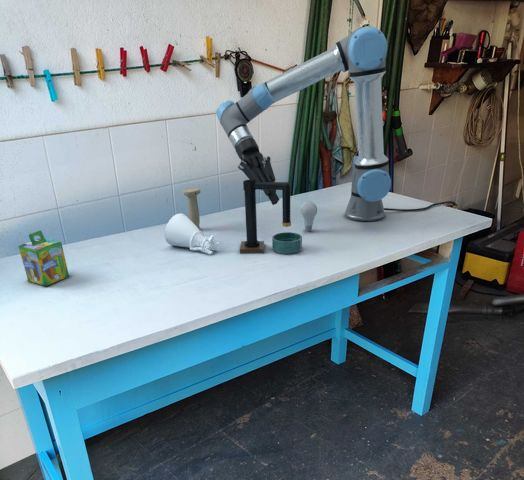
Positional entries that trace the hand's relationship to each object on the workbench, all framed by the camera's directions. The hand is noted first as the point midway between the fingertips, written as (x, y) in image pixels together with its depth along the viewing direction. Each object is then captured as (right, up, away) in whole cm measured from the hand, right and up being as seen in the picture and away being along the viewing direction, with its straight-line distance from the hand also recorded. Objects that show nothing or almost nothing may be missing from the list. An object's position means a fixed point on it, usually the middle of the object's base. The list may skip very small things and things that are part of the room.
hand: (276, 202), depth 176 cm
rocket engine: (-29, -15, +5) cm, 33 cm away
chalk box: (-71, -28, -14) cm, 78 cm away
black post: (-8, -15, +3) cm, 18 cm away
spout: (-3, -8, -2) cm, 9 cm away
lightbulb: (+13, -6, +18) cm, 23 cm away
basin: (+4, -16, +2) cm, 16 cm away
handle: (-30, -4, +23) cm, 39 cm away
